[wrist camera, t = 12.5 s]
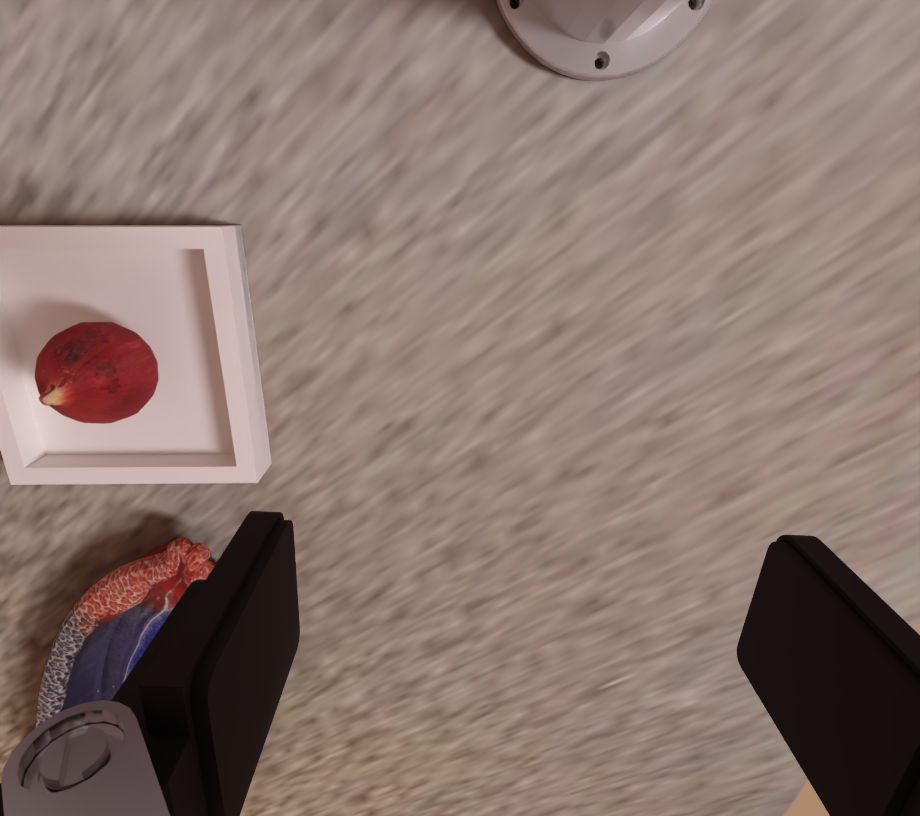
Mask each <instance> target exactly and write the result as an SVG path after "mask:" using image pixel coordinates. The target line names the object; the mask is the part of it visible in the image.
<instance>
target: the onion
mask: <svg viewBox="0 0 920 816" xmlns="http://www.w3.org/2000/svg"><path fill="white" fill-rule="evenodd" d="M35 381H36V385H37V388H38V392H39V394H40V397H39V400H40V402H41V403H42V404H43V405H45V406H50V407H52V408H53V409H54V410H56V411H57V412H59V413H60V414H61V415H63V416H66V417H68V418H71V419H73V420H76V421H79V422H83V423H99V424H106V423H114V422H116V421H119V420H122V419H125V418H128V417H130V416H133V415H135V414H137V413H138V412H139V411H140V410H141V409H142V408H143V407H144V406H145V405H146V404H147V402H148V401H149V400H150V399H151V398H152V396H153V395H154V393H155V390H156V387H157V383H158V363H157V360H156V358H155V356H154V353H153V351H152V349H151V347H150V346H149V345H148V344H147V343H146V342H145V341H144V340H143V339H142V338H141V337H140V336H139V335H138V334H137V333H135V332H134V331H132V330H129V329H127V328H125V327H122V326H120V325H118V324H115V323H113V322H80V323H78V324H76V325H74V326H71V327H69V328H67V329H65V330H63V331H61V332H59V333H57V334H55V335H54V336H53V337H52V338H51V339H50V340H49V341H48V342H47V344H46V345H45V346H44V348H43V349H42V350H41V352H40V353H39V355H38V357H37V360H36V368H35Z"/></svg>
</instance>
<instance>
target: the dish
mask: <svg viewBox="0 0 920 816" xmlns="http://www.w3.org/2000/svg"><path fill="white" fill-rule="evenodd" d="M210 555H211V551H210V550H209V548H208V546H206V545H204V544H202V543H195V544H193V543H192V542H191V541H190V540H188V539H186V538H178V539H176V540H174V541H172V542H170V543H169V544H167V545H164V546H162V547H159V548H157V549H155V550H154V551H153V552H151V553H149V554H148V555H146V556H144V557H142V558H140V559H137V560H135V561H132V562H130V563H128V564H125V565H123V566H120V567H119V568H117V569H115V570H114V571H112V572H110V573H108V574H107V575H105V576H104V577H103V578H102V579H100V580H99V581H98V582H96V583H95V584H94V585H93V586H92V587H91V588H90V589H89V590H88V591H87V592H86V593H85V594H84V595H83V596H82V597H81V598H80V599H79V600H78V601H77V602H76V603H75V605H74V606H73V608H72V609H71V611H70V612H69V614H68V615H67V617H66V618H65V620H64V621H63V623H62V625H61V627H60V629H59V631H58V633H57V635H56V637H55V640H54V642H53V645H52V647H51V650H50V653H49V655H48V658H47V661H46V664H45V668H44V672H43V675H42V679H41V684H40V690H39V696H38V703H37V717H36V727H37V726H39V725H40V724H41V723H43V722H44V721H45V720H47V719H49V718H51V717H52V716H54V715H56V714H58V713H60V712H62V711H63V710H65V709H68V708H71V707H74V706H77V705H80V704H83V703H87V702H94V701H101V700H105V701H111V700H112V699H113V697H114V696H115V694H116V693H117V691H118V690H119V688H120V687H121V685H122V684H123V682H124V681H125V679H126V678H127V676H128V675H129V673H130V672H131V671H132V669H133V668H134V666H135V665H136V663H137V662H138V660H139V659H140V657H141V656H142V654H143V653H144V651H145V650H146V648H147V647H148V645H149V644H150V642H151V641H152V639H153V638H154V636H155V635H156V634H157V632H158V631H159V629H160V628H161V626H162V625H163V623H164V622H165V620H166V619H167V617H168V616H169V614H170V613H171V611H172V610H173V608H174V607H175V605H176V604H177V602H178V601H179V599H180V598H181V597H182V595H183V594H184V592H185V591H186V589H187V588H188V587H189V585H190V584H191V583H192V582H193V581H195V580H197V579H201V580H206V579H207V577H208V576H209V574H210V573H211V571H212V569H213V568H214V566H215V565H216V564H215V563H213V562H212V561H210V560H209V559H208V558H209V557H210Z"/></svg>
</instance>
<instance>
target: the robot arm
mask: <svg viewBox="0 0 920 816" xmlns="http://www.w3.org/2000/svg"><path fill="white" fill-rule="evenodd" d="M511 1H512V0H496V2H497V5H498V9H499V10H500V12H501V14H502V16H503V18H504V20H505V22H506V24H507V26H508V28H509V30H510V31H511V33H512V34H513V35H514V36H515V38H516V39H517V40H518V42H519V43H520V44H521V45H522V47H523V48H524V49H525V50H526V51H527V52H528V53H530V54H531V55H532V56H533V57H534V58H535V59H537V60H538V61H539V62H540V63H541V64H543V65H545V66H547V67H548V68H550V69H552V70H554V71H556V72H558V73H559V74H562V75H566V76H569V77H573V78H576V79H579V80H592V81H605V80H612V79H618V78H624V77H626V76H629V75H631V74H634V73H637V72H639V71H642V70H644V69H646V68H648V67H649V66H651V65H652V64H654V63H656V62H657V61H659V60H661V59H662V58H664V57H665V56H666V55H667V54H669V53H670V52H671V51H672V50H674V49H675V48H676V47H678V46H679V45H680V44H681V43H682V42H683V41H684V39H685V38H686V37H687V36H688V35H689V34H690V33H691V32H692V31H693V30H694V29H695V28H696V26H697V25H698V24H699V22H700V21H701V19H702V18H703V16H704V15H705V14H706V12H707V11H708V9H709V7H710V6H711V4H712V2H713V0H515V1H517V2H518V4H519V7H518V8H517V9H512V8H511V7H510V2H511ZM689 1H690V2H692V3H693V4H694V8H693V10H691V8H690V7H689V5H688V2H689ZM595 60H600V61H601V62H602V67H601V68H600V69H597V68H596V67H595V65H594V62H595ZM299 634H300V625H299V610H298V594H297V578H296V562H295V547H294V531H293V523H292V521H291V520H284V517H283V514H282V513H281V512H262V511H251V512H250V513H249V514H248V515H247V516H246V518H245V520H244V521H243V523H242V524H241V526H240V527H239V529H238V530H237V532H236V534H235V535H234V537H233V538H232V540H231V541H230V543H229V545H228V546H227V548H226V549H225V551H224V552H223V554H222V555H221V557H220V559H219V560H218V562H217V563H216V565H215V566H214V568H213V569H212V571H211V573H210V574H209V576H208V577H207V579H206V580H201V579H197V580H195V581H193V582H192V583H191V584H190V585H189V587H188V588H187V589H186V591H185V592H184V594H183V595H182V597H181V598H180V599H179V601H178V602H177V604H176V605H175V607H174V608H173V610H172V611H171V613H170V614H169V616H168V617H167V619H166V620H165V622H164V623H163V625H162V626H161V628H160V629H159V631H158V632H157V634H156V635H155V636H154V638H153V639H152V641H151V642H150V644H149V645H148V647H147V648H146V650H145V651H144V653H143V654H142V656H141V657H140V659H139V660H138V662H137V663H136V665H135V666H134V668H133V669H132V671H131V672H130V673H129V675H128V676H127V678H126V679H125V681H124V682H123V684H122V685H121V687H120V688H119V690H118V691H117V693H116V694H115V696H114V697H113V699H112V700H111V701H105V700H101V701H94V702H87V703H83V704H80V705H77V706H74V707H71V708H68V709H65V710H63V711H62V712H60V713H58V714H56V715H54V716H52V717H51V718H49V719H47V720H45V721H44V722H43V723H41V724H40V725H39V726H37V727H36V728H35V729H34V730H32V731H31V732H30V733H29V734H27V735H26V736H25V738H24V739H23V740H22V741H21V742H20V743H19V744H18V746H17V747H16V748H15V749H14V750H13V751H12V753H11V755H10V757H9V759H8V761H7V763H6V764H5V766H4V769H3V776H2V782H1V784H0V816H240V813H241V810H242V807H243V804H244V801H245V798H246V795H247V792H248V789H249V787H250V784H251V781H252V778H253V775H254V772H255V769H256V766H257V763H258V761H259V758H260V755H261V752H262V749H263V746H264V743H265V740H266V737H267V735H268V732H269V729H270V726H271V723H272V720H273V717H274V714H275V711H276V709H277V706H278V703H279V700H280V697H281V694H282V691H283V688H284V685H285V682H286V680H287V677H288V674H289V671H290V668H291V665H292V662H293V659H294V656H295V654H296V651H297V647H298V642H299ZM737 657H738V661H739V664H740V666H741V668H742V670H743V671H744V673H745V675H746V676H747V678H748V680H749V681H750V683H751V685H752V686H753V688H754V690H755V691H756V693H757V695H758V696H759V698H760V700H761V701H762V703H763V705H764V706H765V708H766V710H767V711H768V713H769V715H770V716H771V718H772V720H773V721H774V723H775V725H776V726H777V728H778V730H779V731H780V733H781V735H782V736H783V738H784V740H785V741H786V743H787V745H788V746H789V748H790V750H791V751H792V753H793V755H794V756H795V758H796V760H797V761H798V763H799V765H800V766H801V768H802V770H803V771H804V773H805V775H806V776H807V778H808V780H809V781H810V783H811V785H812V786H813V788H814V790H815V791H816V793H817V795H818V796H819V798H820V800H821V801H822V803H823V805H824V806H825V808H826V810H827V811H828V813H829V815H830V816H920V635H919V634H918V633H917V632H916V631H915V630H914V629H913V628H911V627H910V626H909V625H908V624H907V623H906V622H905V621H904V620H903V619H902V618H901V617H900V616H899V615H898V614H897V613H896V612H895V611H894V610H893V609H892V608H891V607H890V606H888V605H887V604H886V603H885V602H884V601H883V600H882V599H881V598H880V597H879V596H878V595H877V594H876V593H875V592H874V591H873V590H872V589H871V588H870V587H869V586H868V585H867V584H865V583H864V582H863V581H862V580H861V579H860V578H859V577H858V576H857V575H856V574H855V573H854V572H853V571H852V570H851V569H850V568H849V567H848V566H847V565H846V564H845V563H843V562H842V561H841V560H840V559H839V558H838V557H837V556H836V555H835V554H834V553H833V552H832V551H831V550H830V549H829V548H828V547H827V546H826V545H825V544H824V543H823V542H822V541H820V540H819V539H818V538H816V537H814V536H801V535H782V536H780V537H779V538H778V539H777V541H776V542H772V543H771V544H770V545H769V547H768V550H767V553H766V556H765V559H764V563H763V566H762V569H761V572H760V575H759V578H758V582H757V585H756V588H755V591H754V594H753V598H752V601H751V604H750V607H749V610H748V614H747V617H746V620H745V623H744V626H743V629H742V633H741V636H740V639H739V642H738V646H737Z"/></svg>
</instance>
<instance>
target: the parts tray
mask: <svg viewBox="0 0 920 816" xmlns="http://www.w3.org/2000/svg"><path fill="white" fill-rule="evenodd" d="M80 322H113V323H115V324H118V325H120V326H122V327H125V328H127V329H129V330H132V331H134V332H135V333H137V334H138V335H139V336H140V337H141V338H142V339H143V340H144V341H145V342H146V343H147V344H148V345H149V346H150V347H151V349H152V351H153V353H154V356H155V358H156V360H157V363H158V383H157V387H156V390H155V393H154V395H153V396H152V398H151V399H150V400H149V401H148V402H147V404H146V405H145V406H144V407H143V408H142V409H141V410H140V411H139V412H138V413H137V414H135V415H133V416H130V417H128V418H125V419H122V420H119V421H116V422H114V423H106V424H99V423H83V422H79V421H76V420H73V419H71V418H68V417H66V416H63V415H61V414H60V413H59V412H57V411H56V410H54V409H53V408H52V407H50V406H45V405H43V404H42V403H41V402H40V400H39V397H40V394H39V392H38V388H37V385H36V381H35V368H36V360H37V357H38V355H39V353H40V352H41V350H42V349H43V348H44V346H45V345H46V344H47V342H48V341H49V340H50V339H51V338H52V337H53V336H54V335H55V334H57V333H59V332H61V331H63V330H65V329H67V328H69V327H71V326H74V325H76V324H78V323H80ZM0 451H1V454H2V457H3V460H4V464H5V467H6V470H7V473H8V476H9V480H10V483H11V485H32V484H172V483H258V482H259V480H260V479H261V477H262V476H263V474H264V473H265V472H266V470H267V469H268V467H269V466H270V464H271V455H270V447H269V439H268V432H267V424H266V416H265V408H264V400H263V393H262V385H261V377H260V369H259V362H258V354H257V346H256V338H255V330H254V323H253V315H252V307H251V299H250V292H249V284H248V276H247V268H246V261H245V253H244V245H243V237H242V229H241V225H0Z"/></svg>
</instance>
